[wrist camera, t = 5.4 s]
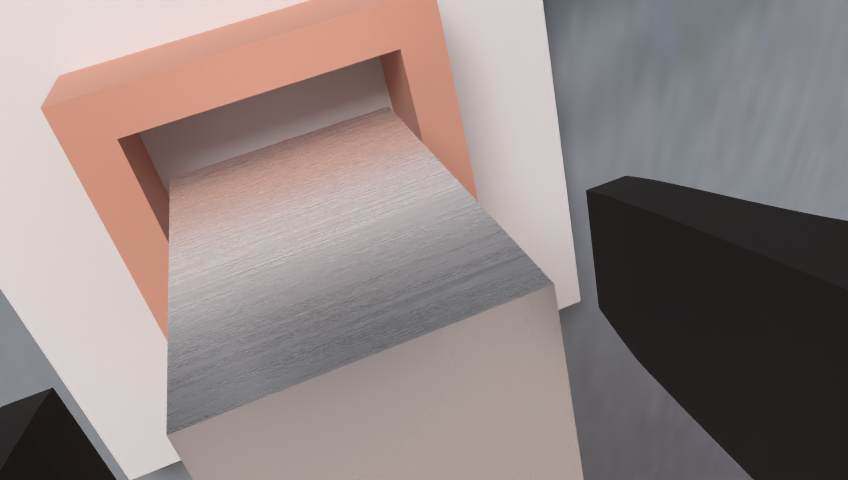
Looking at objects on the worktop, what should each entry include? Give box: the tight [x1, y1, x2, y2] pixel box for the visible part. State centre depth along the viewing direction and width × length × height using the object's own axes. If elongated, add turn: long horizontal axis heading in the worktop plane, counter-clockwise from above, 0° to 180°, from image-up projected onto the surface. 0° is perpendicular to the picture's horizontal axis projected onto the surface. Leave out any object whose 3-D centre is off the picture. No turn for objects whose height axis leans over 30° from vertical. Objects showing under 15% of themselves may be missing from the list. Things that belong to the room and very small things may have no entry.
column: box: [166, 106, 584, 480], centre depth 9 cm, size 4×4×6 cm
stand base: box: [0, 0, 581, 480], centre depth 13 cm, size 12×12×4 cm
